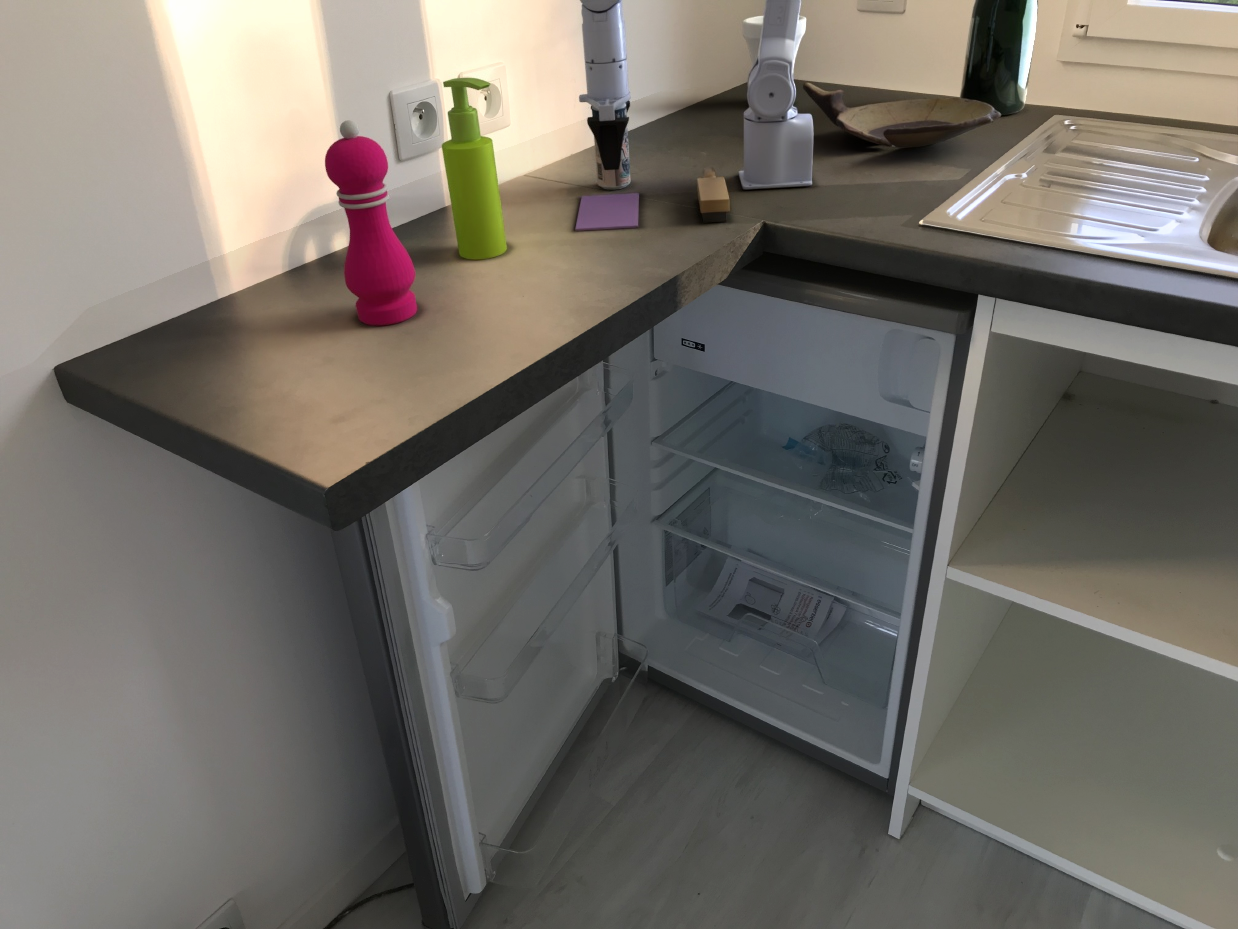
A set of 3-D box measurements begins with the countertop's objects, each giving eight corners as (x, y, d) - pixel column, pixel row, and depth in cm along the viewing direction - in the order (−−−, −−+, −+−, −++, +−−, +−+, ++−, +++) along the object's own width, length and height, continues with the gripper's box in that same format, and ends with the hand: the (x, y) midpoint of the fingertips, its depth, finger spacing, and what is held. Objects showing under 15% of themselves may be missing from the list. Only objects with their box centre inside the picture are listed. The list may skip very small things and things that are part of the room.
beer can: (627, 190, 133) (621, 102, 127) (594, 190, 134) (587, 103, 128) (633, 181, 137) (628, 94, 131) (601, 181, 138) (595, 95, 131)
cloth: (638, 194, 131) (638, 192, 131) (638, 227, 119) (637, 225, 119) (581, 198, 132) (581, 195, 131) (575, 230, 120) (575, 228, 120)
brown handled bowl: (919, 173, 131) (925, 116, 127) (780, 136, 153) (781, 86, 149) (1027, 143, 140) (1036, 89, 136) (881, 112, 162) (885, 65, 158)
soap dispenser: (493, 263, 112) (468, 85, 101) (449, 255, 115) (420, 82, 104) (523, 247, 116) (501, 74, 105) (479, 240, 119) (454, 72, 108)
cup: (760, 94, 181) (761, 13, 173) (813, 98, 175) (816, 14, 168) (731, 107, 173) (731, 23, 166) (785, 111, 168) (788, 24, 160)
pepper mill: (359, 304, 103) (316, 115, 93) (425, 298, 104) (389, 109, 93) (349, 331, 97) (301, 132, 87) (418, 324, 98) (380, 125, 87)
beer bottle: (1011, 119, 153) (1047, -119, 135) (948, 113, 158) (975, -116, 141) (1033, 105, 159) (1070, -124, 141) (972, 101, 165) (1000, -120, 147)
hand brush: (721, 186, 132) (721, 163, 130) (729, 222, 119) (729, 198, 117) (695, 187, 132) (695, 165, 131) (701, 223, 119) (700, 199, 117)
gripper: (579, 52, 133) (587, 150, 140) (572, 71, 120) (581, 177, 128) (629, 49, 132) (634, 147, 140) (627, 68, 120) (633, 174, 127)
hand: (612, 162), depth 134 cm, fingers open, 7 cm apart
